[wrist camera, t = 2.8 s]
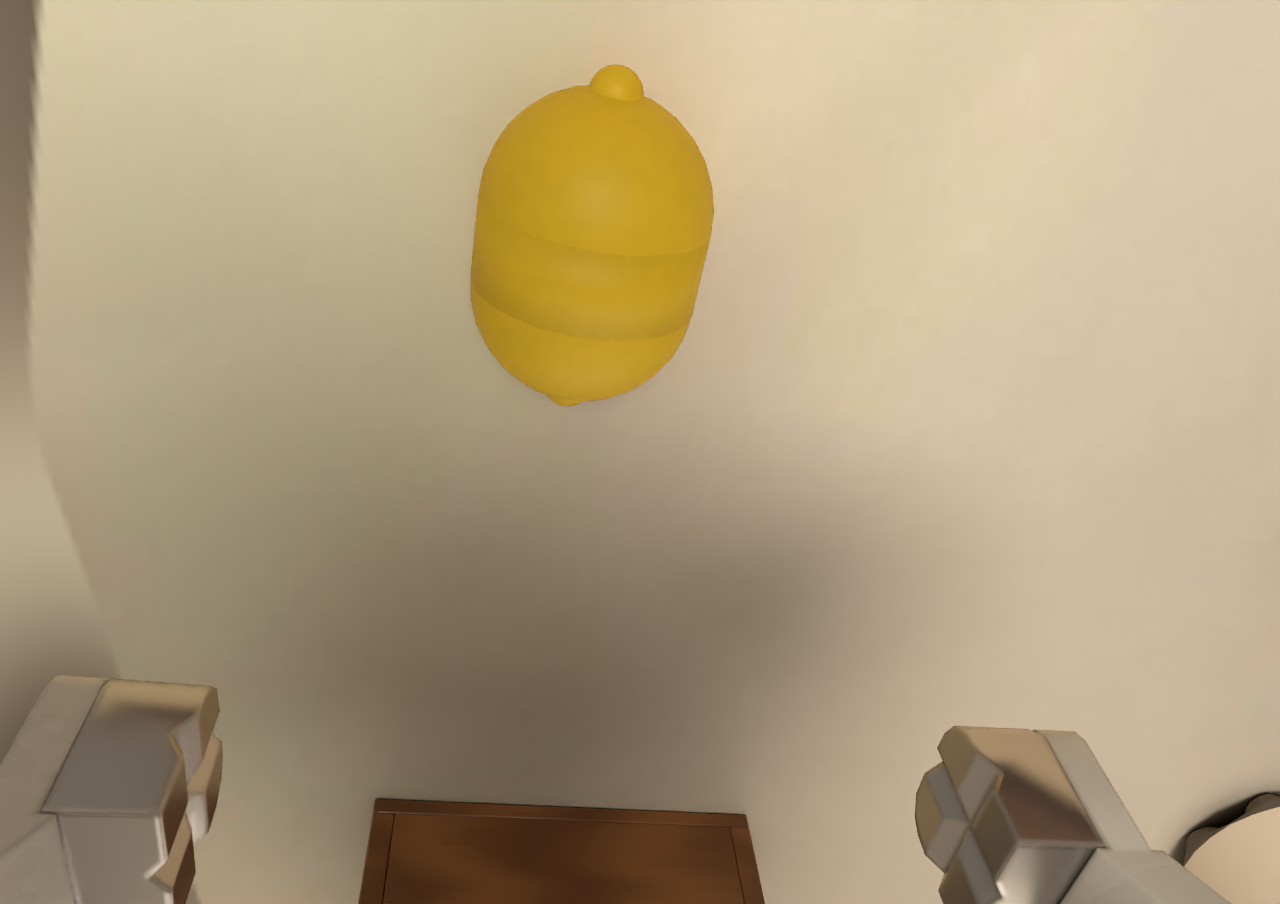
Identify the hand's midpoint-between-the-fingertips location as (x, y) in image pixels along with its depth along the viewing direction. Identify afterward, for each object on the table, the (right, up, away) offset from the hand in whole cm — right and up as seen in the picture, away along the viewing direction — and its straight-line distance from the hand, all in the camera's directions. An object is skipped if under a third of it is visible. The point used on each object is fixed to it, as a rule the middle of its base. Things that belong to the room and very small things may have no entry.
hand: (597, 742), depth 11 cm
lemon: (-1, +10, +14) cm, 17 cm away
